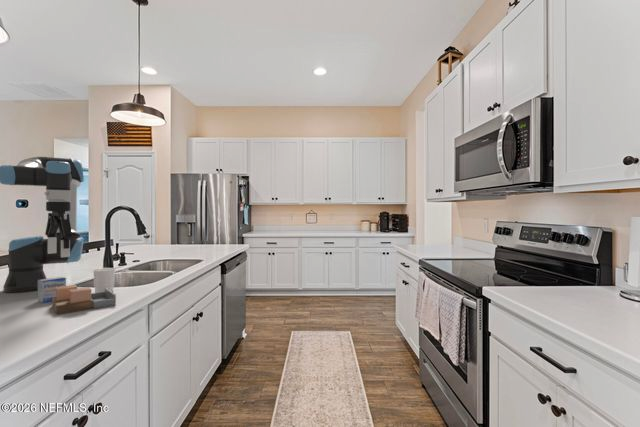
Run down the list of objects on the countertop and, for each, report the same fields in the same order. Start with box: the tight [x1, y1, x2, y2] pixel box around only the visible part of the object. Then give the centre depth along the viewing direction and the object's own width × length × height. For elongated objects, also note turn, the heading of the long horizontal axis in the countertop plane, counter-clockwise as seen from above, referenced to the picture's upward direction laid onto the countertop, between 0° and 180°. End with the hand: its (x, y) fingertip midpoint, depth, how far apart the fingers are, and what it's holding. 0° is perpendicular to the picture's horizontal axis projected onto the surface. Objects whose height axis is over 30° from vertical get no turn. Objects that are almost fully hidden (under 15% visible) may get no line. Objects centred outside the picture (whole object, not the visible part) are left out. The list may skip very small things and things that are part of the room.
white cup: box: [93, 267, 116, 293], centre depth 145 cm, size 8×8×10 cm
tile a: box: [56, 284, 78, 300], centre depth 125 cm, size 4×6×4 cm
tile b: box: [69, 286, 92, 303], centre depth 121 cm, size 4×6×4 cm
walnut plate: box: [51, 298, 93, 315], centre depth 123 cm, size 14×10×3 cm
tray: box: [91, 288, 117, 309], centre depth 129 cm, size 14×7×4 cm, turn 44°
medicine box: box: [37, 276, 67, 304], centre depth 132 cm, size 8×4×9 cm, turn 148°
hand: (58, 255), depth 131 cm, fingers open, 13 cm apart
